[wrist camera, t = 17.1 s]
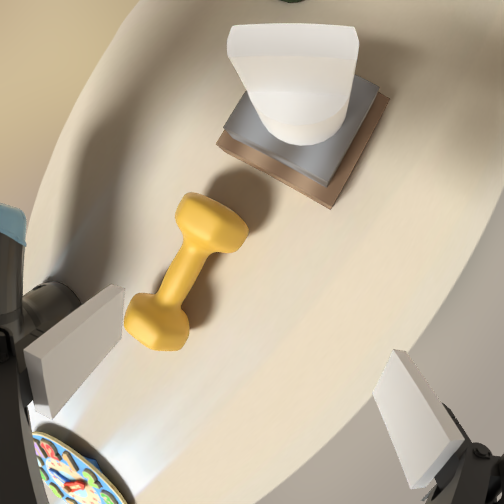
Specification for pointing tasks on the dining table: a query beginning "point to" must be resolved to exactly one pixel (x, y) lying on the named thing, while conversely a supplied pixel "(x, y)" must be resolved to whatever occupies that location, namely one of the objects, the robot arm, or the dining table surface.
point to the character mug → (291, 0)
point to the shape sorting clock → (73, 473)
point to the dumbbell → (184, 272)
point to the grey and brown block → (307, 156)
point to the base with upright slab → (296, 76)
